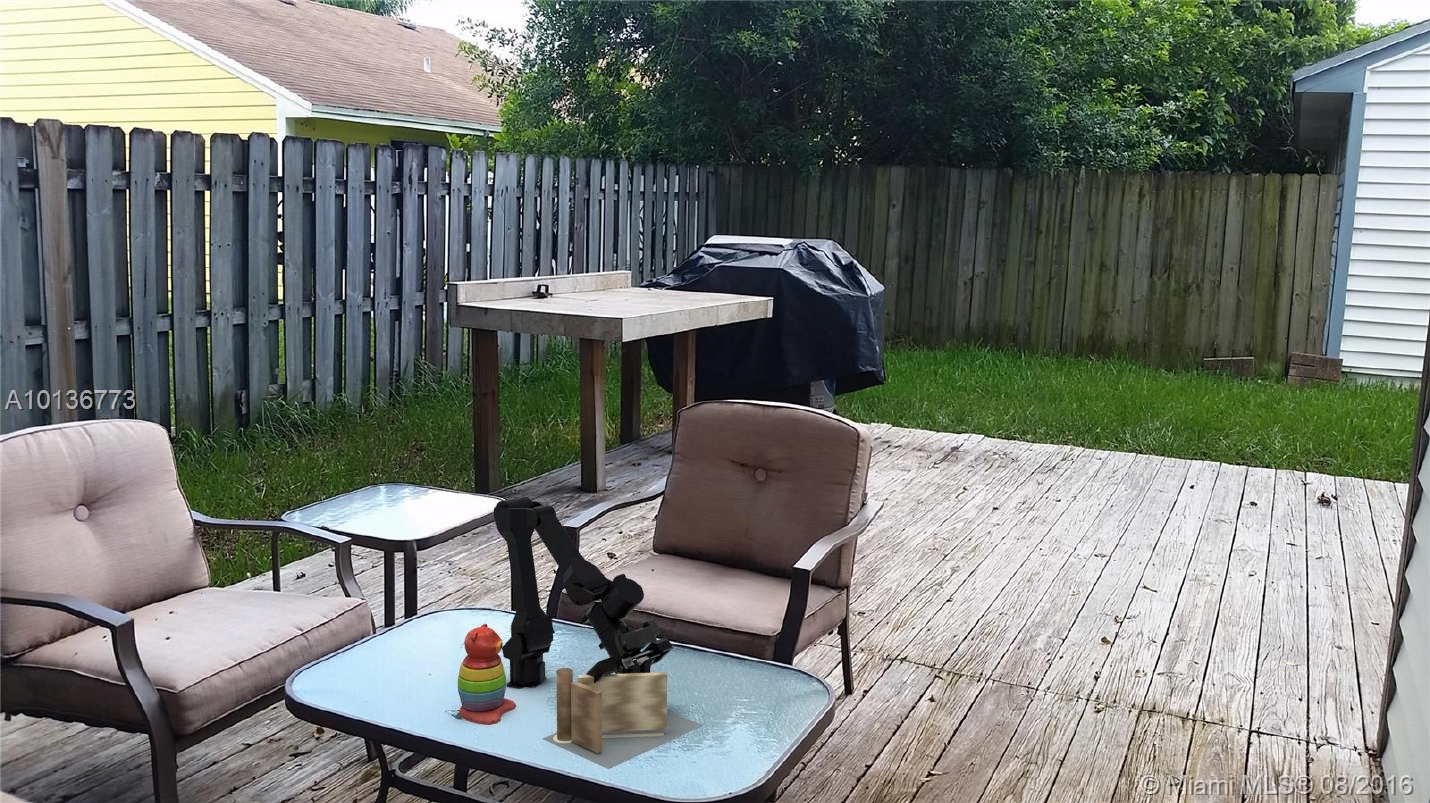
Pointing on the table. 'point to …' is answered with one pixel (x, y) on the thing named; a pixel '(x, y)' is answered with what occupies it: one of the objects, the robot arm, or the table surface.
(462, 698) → the stacking bear
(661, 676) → the folding fence panel
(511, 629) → the robot arm
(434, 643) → the table surface
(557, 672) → the fixed fence panel
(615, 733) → the board
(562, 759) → the table surface
